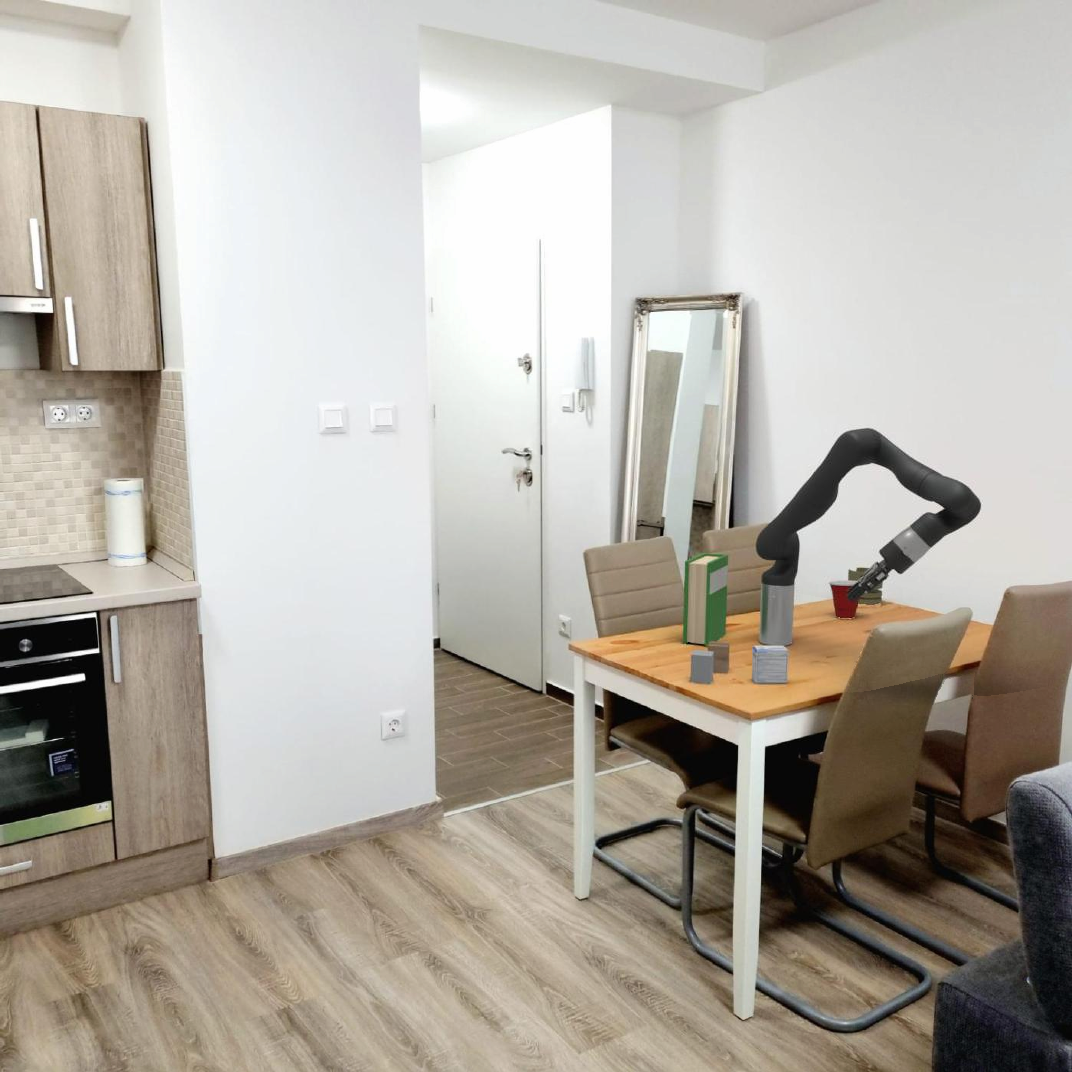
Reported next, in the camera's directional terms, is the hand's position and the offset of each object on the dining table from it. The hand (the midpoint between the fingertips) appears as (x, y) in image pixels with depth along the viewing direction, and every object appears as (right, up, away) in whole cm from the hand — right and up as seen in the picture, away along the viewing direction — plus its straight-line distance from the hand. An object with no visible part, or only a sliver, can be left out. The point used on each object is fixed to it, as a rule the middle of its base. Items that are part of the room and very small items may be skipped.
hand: (849, 597), depth 246 cm
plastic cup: (+24, -12, +84) cm, 88 cm away
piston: (+37, -9, +106) cm, 113 cm away
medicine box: (-17, -22, +8) cm, 29 cm away
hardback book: (-26, -16, +52) cm, 60 cm away
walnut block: (-28, -20, +18) cm, 39 cm away
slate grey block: (-34, -21, +8) cm, 41 cm away
